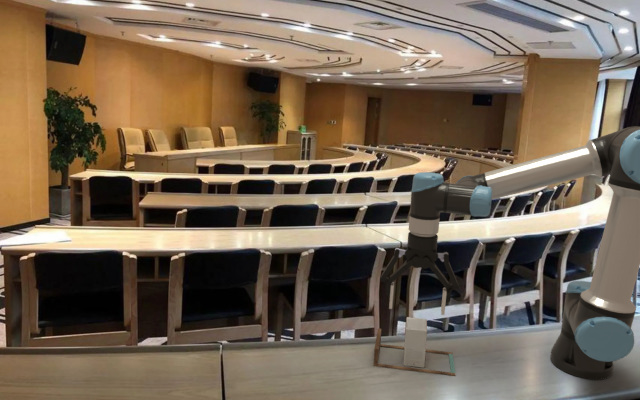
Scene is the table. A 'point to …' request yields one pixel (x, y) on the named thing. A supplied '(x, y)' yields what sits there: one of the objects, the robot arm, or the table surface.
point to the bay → (376, 357)
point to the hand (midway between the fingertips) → (416, 309)
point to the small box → (415, 342)
